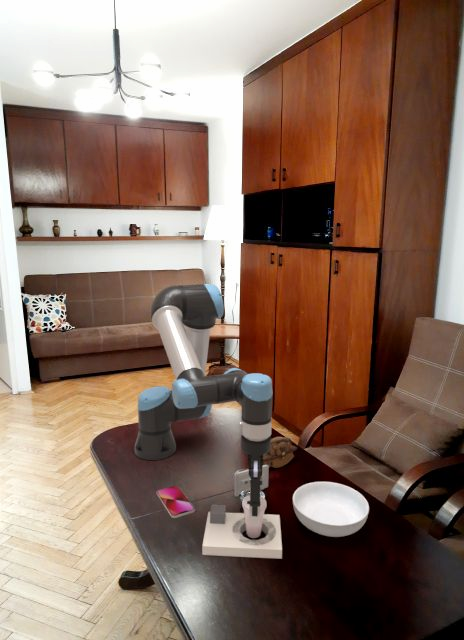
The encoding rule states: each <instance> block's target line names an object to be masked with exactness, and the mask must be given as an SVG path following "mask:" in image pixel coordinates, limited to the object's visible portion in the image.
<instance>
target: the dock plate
mask: <svg viewBox="0 0 464 640" xmlns="http://www.w3.org/2000/svg"><path fill="white" fill-rule="evenodd" d="M226 507H227V505H225V504H211V505H210V511H208V513H207V518H206V523H205V529H204V534H203V541H202V547H201V548H202V551H201V552H202V553H201V555H202V556H218V557H219V556H220V557H237V558H238V557H239V558H240V557H241V558H260V559H281V560H282V559H283V543H282V530H281V517H280V514H269V513H267V514H266V513H264V517H263V522H262V528H261V532H263V533H264V534H265V536H264V537H262V538H259V539H249V538H247V537H245V536H244V535H243V533H244V532H246V523H245V515H244V512H227V508H226Z"/></svg>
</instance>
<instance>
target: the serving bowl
mask: <svg viewBox="0 0 464 640" xmlns="http://www.w3.org/2000/svg"><path fill="white" fill-rule="evenodd" d="M292 505H293V510H294V513H295V515H296V517H297V519H298V521H299V522H301V524H302V525H303V526H305V528H307V529H308V530H310V531H312V532H314V533H315V534H316V533H317V534H318V535H321V536H326V537H331V538H332V537H333V538H340V537H345V536H350V535H353V534H355V533H357V532H358V531H359V530H360V529H362V527H363V526H364V525H365V523H366V522H367V519H368V515H369V513H370V506H369V502H368V500H367V499H366V498H365V496H364V495H363V494H362V493H360V492H359V491H358V490H355V488H352V487H350V486H348V485H345V484H342V483H338V482H333V481H314V482H313V481H312V482H309V483H305V484H303V485H301V486H299V487H297V489H296V490H295V491H294V493H293V494H292Z"/></svg>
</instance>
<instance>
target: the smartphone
mask: <svg viewBox="0 0 464 640" xmlns="http://www.w3.org/2000/svg"><path fill="white" fill-rule="evenodd" d="M155 494H156V496H157V497H158V498H159V500H160V501H161V503H162V505H163V506H164V508H165V511H167V513H168V514H169V516H170V517H171V518H172V519H177V518H181V517H184V516H187V515H190V514H193V513H195V511H196V508H195V506H194V505H193V503H192V502H191V501H190V500H189V498H188V496H186V494H185V493H184V492H183V491H182V489H181V488H180V486H178V485H171V486H168V487H165V488H160V489H158V490H157V491H156V493H155Z"/></svg>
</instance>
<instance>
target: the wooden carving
mask: <svg viewBox="0 0 464 640" xmlns="http://www.w3.org/2000/svg"><path fill="white" fill-rule="evenodd" d="M297 450H298V447H297V446H295V445H292V440H291V438H289V437H287V436H285V437H282V436H276V437H273V438H271V449H270V451H269V452H268V453H266V454H264V455H263V465H266V464H267V465H268V466H269V468H271V467H272V468H281V467H284V466H285V465H287V464H289V463H290V462H291V460H293V458H295V455H294V453H293V452H295V451H297Z"/></svg>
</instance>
